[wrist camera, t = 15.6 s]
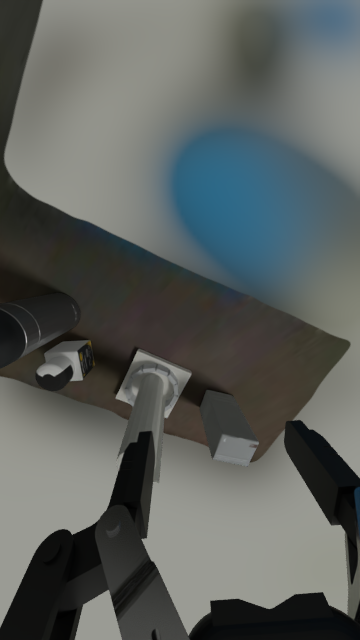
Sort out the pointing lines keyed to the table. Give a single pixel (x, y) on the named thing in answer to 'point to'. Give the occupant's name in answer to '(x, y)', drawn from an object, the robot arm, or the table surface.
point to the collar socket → (154, 365)
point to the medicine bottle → (65, 364)
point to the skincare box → (227, 429)
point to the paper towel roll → (147, 418)
